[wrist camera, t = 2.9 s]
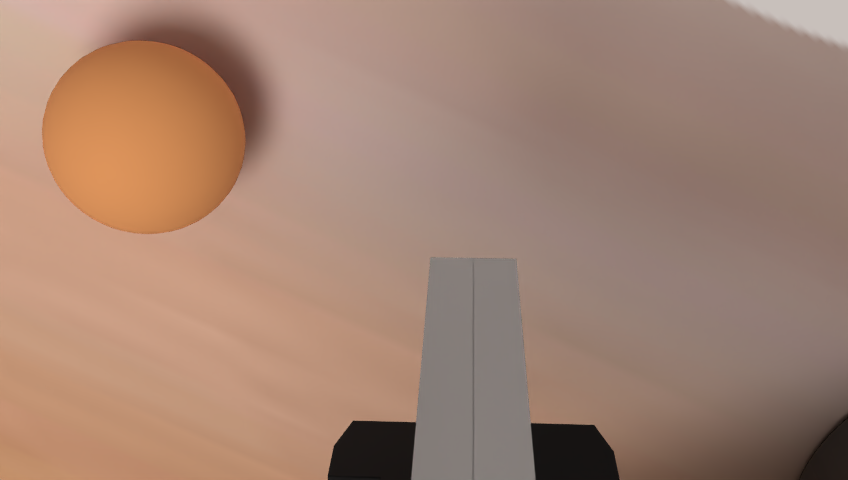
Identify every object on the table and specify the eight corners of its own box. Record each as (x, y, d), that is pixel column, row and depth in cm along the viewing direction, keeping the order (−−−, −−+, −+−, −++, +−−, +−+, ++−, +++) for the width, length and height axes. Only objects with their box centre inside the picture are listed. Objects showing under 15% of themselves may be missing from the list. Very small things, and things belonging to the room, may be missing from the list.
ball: (253, 17, 24) (197, 77, 19) (273, 183, 27) (228, 271, 22) (74, 17, 24) (-24, 76, 20) (112, 182, 27) (33, 268, 22)
